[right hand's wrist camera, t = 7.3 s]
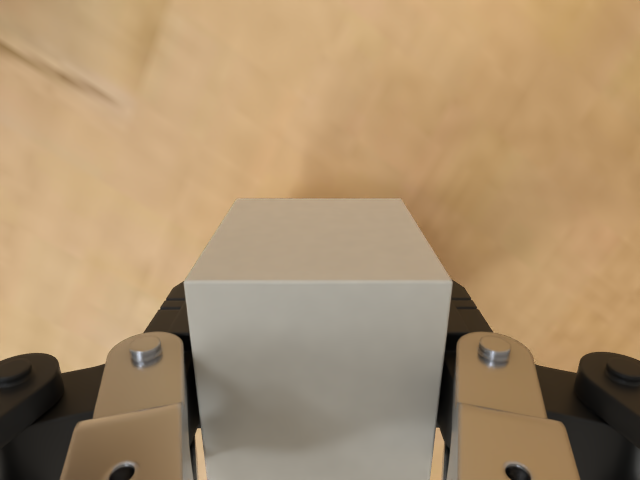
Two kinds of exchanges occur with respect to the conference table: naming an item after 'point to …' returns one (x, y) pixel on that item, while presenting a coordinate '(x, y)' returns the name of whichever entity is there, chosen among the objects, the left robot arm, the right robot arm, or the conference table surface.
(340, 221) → the block
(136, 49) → the conference table surface
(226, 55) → the conference table surface
